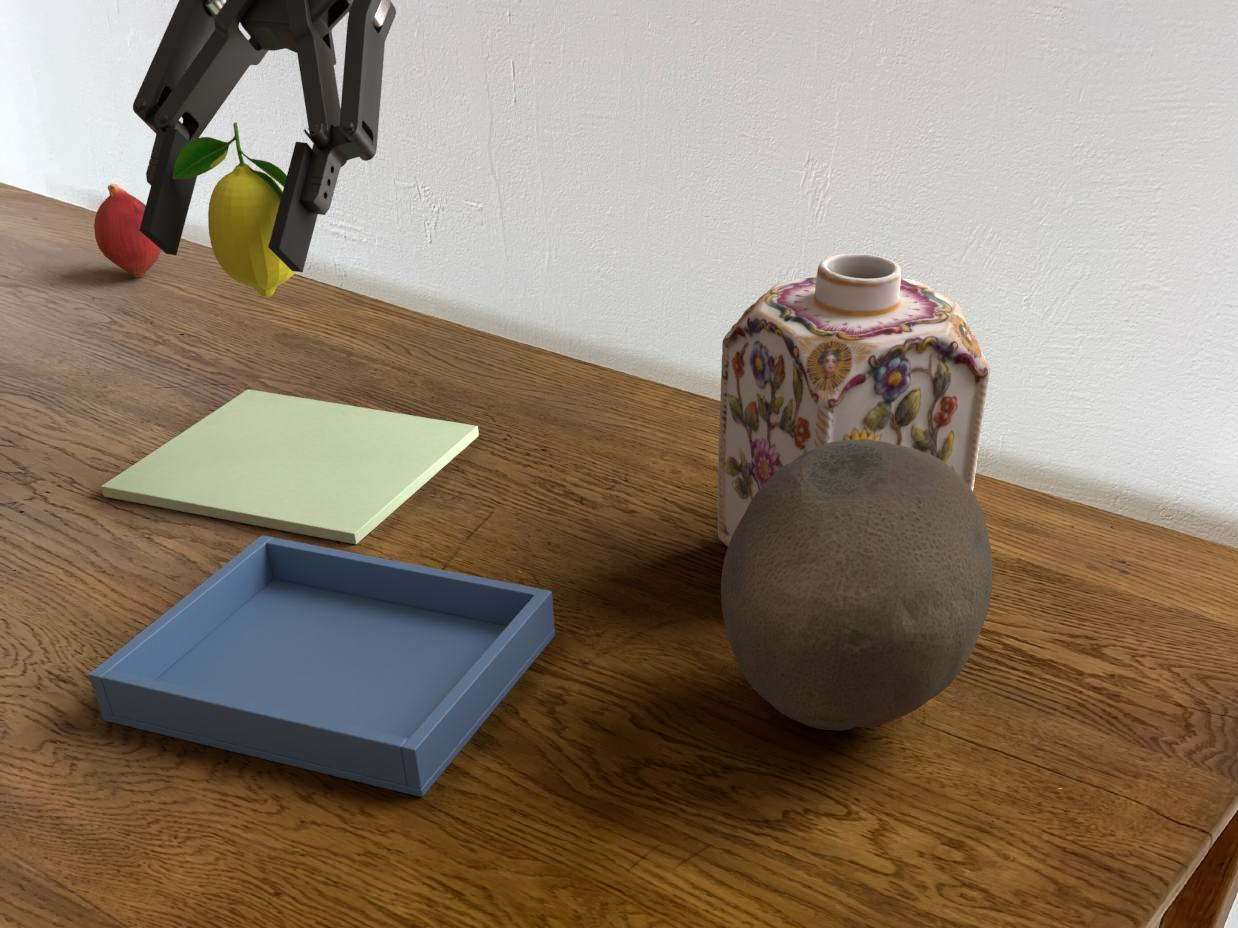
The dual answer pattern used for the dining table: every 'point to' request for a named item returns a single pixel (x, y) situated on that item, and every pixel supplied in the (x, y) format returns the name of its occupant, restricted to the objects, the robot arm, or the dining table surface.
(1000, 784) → the dining table surface
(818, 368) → the decorative jar
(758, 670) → the cantaloupe
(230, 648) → the tray
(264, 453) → the mat
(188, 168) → the lemon
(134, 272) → the onion
